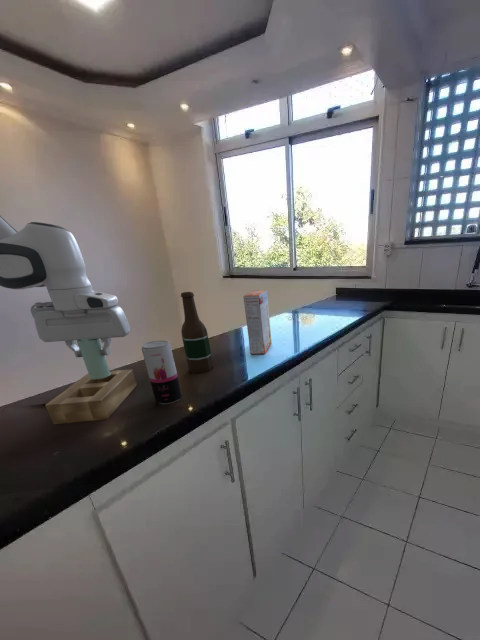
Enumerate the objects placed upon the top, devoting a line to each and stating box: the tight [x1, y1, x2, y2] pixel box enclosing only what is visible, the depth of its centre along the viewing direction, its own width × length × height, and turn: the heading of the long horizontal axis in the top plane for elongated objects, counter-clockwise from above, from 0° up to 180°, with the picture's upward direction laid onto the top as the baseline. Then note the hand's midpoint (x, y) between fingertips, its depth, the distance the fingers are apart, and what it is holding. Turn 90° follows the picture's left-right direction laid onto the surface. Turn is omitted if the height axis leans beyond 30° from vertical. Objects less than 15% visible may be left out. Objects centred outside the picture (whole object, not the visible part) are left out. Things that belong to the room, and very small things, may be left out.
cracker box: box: [243, 289, 272, 355], centre depth 115 cm, size 14×6×21 cm, turn 174°
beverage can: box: [141, 339, 183, 405], centre depth 78 cm, size 7×6×15 cm
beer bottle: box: [180, 291, 214, 374], centre depth 96 cm, size 8×8×24 cm
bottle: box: [76, 339, 111, 379], centre depth 79 cm, size 5×5×15 cm
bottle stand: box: [45, 368, 138, 425], centre depth 80 cm, size 12×21×5 cm, turn 8°
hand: (93, 355), depth 80 cm, fingers closed on bottle, 5 cm apart
